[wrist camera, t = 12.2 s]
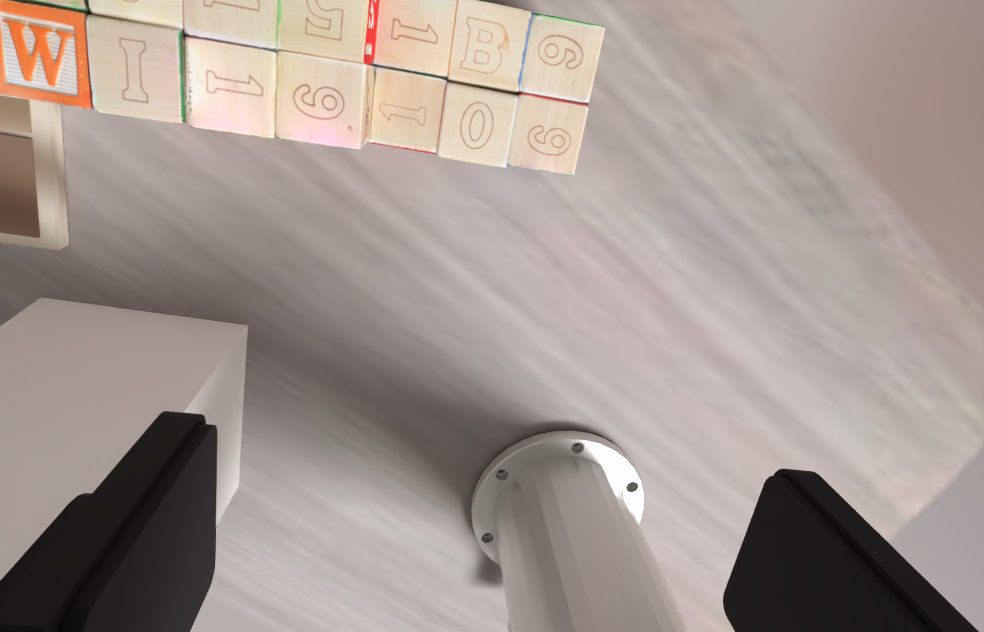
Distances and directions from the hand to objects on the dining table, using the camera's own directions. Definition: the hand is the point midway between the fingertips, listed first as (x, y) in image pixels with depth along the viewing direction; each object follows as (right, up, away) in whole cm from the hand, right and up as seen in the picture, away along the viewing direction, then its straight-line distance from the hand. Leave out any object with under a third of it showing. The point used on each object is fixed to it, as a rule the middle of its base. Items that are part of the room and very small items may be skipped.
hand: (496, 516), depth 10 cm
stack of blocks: (-7, +17, +22) cm, 29 cm away
